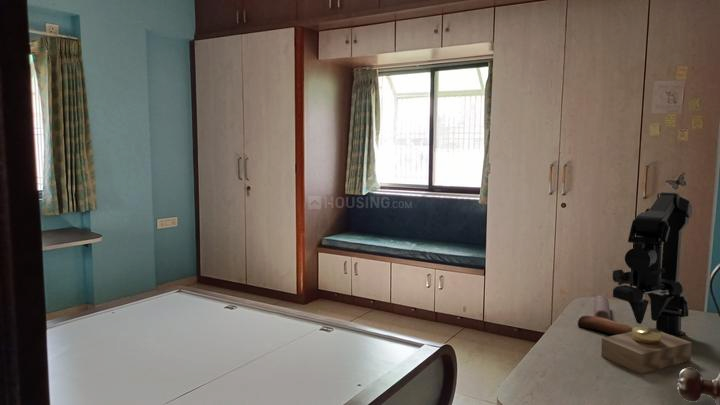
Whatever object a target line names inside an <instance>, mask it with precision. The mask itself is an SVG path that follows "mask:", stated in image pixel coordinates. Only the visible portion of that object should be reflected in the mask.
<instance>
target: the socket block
mask: <svg viewBox="0 0 720 405" xmlns="http://www.w3.org/2000/svg"><path fill="white" fill-rule="evenodd" d="M660 332H661V331H660ZM601 357H603V358H605V359H607V360H610V361H611V362H614V363H616V364H618V365H620V366H623V367H624V368H627V369H629V370H631V371H634V372H636V373H637V374H640V375H642V374H646V373H650V372H653V371H657V370H661V369H665V368H668V367H672V366H676V365H680V363H681V364H683V363H682V362H685V363H687V362H686V361H688V362H691V361H692V342H691V341H689V340H686V339H683V338H680V337H679V336H676V337H675V336H672V335H669V334H666V333H664V332H661V343H660V344H658V345H646V344H641V343H638V342H635V341H634V340H633V339H632V332H628V333H623V334H618V335H610V336H606V337H602V338H601ZM690 360H691V361H690Z"/></svg>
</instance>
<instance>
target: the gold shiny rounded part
mask: <svg viewBox="0 0 720 405" xmlns="http://www.w3.org/2000/svg"><path fill="white" fill-rule="evenodd" d="M632 339H633V340H634V341H635V342H638V343H641V344H646V345H658V344H660V343H661V332H660V331H659V330H656V329H654V328H653V327H647V326H634V327H632Z"/></svg>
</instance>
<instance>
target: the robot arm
mask: <svg viewBox="0 0 720 405" xmlns="http://www.w3.org/2000/svg"><path fill="white" fill-rule="evenodd" d="M692 215H693V206H692V204H691V202H690V201H689V200H688V199H686V198H684V197H682V196H680V194H679V193H677V192H667V191H666V192H663V191H661V192H658V193H657V195H656V200H654V203H653V204H652V205H651V207H649V209H648V211H643V212H640V213H639V214H637V215H636V216H635V217H634V219H632V222H631V227H630V232H629V235H628V240H627V243H631V244H633V247H632V248H631V249H629V250H627V252H626V253H625V255H624V261H625V264H626V266H627V267H628V268H629V269H630V271H625V272H624V270H623V269H615V270H612V280H613V282H614V283H617V284H618V286H615V287H613V289H612V297H613V298H616V299H619V300H622V301H625V302H628V303H629V305H630V307H631V310H632V313H633V317H634V318H635V321H636V324H639V325H641V324H642V323H643V321H644V318H645V315H646V312H647V309H648V305H649V301H650V318H651V320H652V321H653V322H654V321H655V322H656V323H655V328H654V329H656V330H659V331H661V332H664V333H666V334H669V335H672V336H675V337H680V336H684V335H687V333H686V332H685V331H682V318H685V317H689V316H690V313H689V309H690V308H689V302H688V301H687V297H686V296H685V289H684V288H683V286H682V284H681V283H680V281H679V276H680V275H679V274H680V260H681V244H682V233H683V231H684V229H685V228H687V226H688V224H689V222H690V218H692ZM628 284H629V285H628ZM645 295H647V296H648V298H649V300H648V299H645Z"/></svg>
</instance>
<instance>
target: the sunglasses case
mask: <svg viewBox="0 0 720 405" xmlns="http://www.w3.org/2000/svg"><path fill="white" fill-rule="evenodd" d="M577 327H582V328H587V329H592V330H597V331H600V332H603V333H606V334H611V335H612V336H614V335H618V334H623V333H628V332H632V328H633V327H632V326H630V325H629V324H627V323H624V322H618V321H616V320H611V319H610V320H608V319H605V318H602V317H596V316H594V315H583V316H580V317H579V318H578V320H577Z"/></svg>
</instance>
